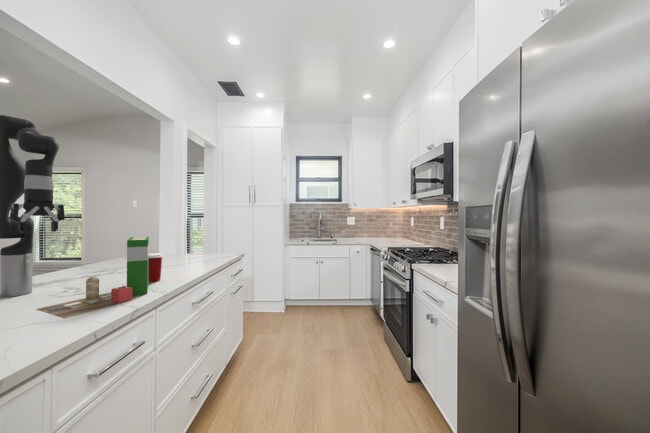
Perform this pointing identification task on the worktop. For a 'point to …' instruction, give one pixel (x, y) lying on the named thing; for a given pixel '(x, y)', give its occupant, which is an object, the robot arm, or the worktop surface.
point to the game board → (78, 307)
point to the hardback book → (138, 265)
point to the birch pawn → (92, 290)
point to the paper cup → (155, 267)
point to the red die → (121, 294)
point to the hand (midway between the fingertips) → (38, 232)
